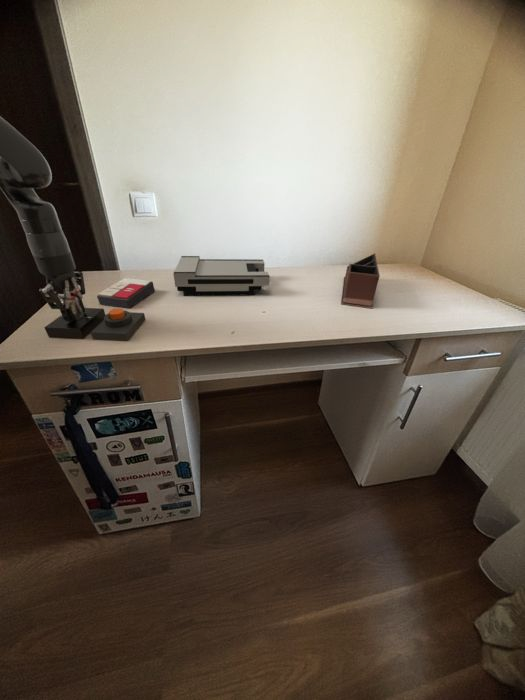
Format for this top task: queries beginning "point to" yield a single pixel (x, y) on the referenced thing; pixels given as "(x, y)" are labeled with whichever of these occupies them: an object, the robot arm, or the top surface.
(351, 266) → the desk organizer
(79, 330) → the dial panel
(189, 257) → the game console
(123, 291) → the calculator
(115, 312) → the button
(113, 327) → the button block
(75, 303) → the dial
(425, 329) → the top surface
